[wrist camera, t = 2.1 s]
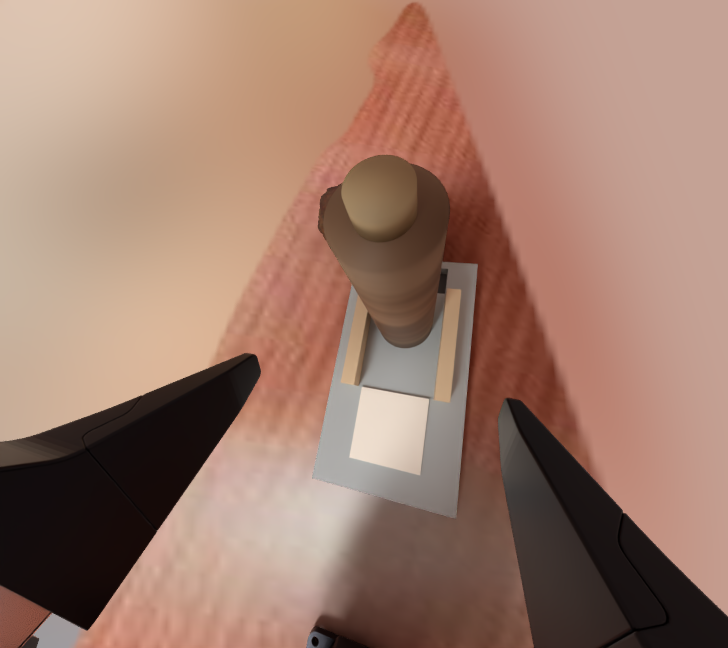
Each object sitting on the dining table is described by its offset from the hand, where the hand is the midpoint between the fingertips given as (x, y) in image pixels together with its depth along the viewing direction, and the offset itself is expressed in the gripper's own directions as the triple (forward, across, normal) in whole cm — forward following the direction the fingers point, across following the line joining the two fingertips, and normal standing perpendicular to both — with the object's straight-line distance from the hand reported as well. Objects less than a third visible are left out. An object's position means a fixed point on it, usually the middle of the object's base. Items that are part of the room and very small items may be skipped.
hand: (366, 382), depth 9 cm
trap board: (+10, 0, +7) cm, 12 cm away
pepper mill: (+12, 0, +4) cm, 12 cm away
